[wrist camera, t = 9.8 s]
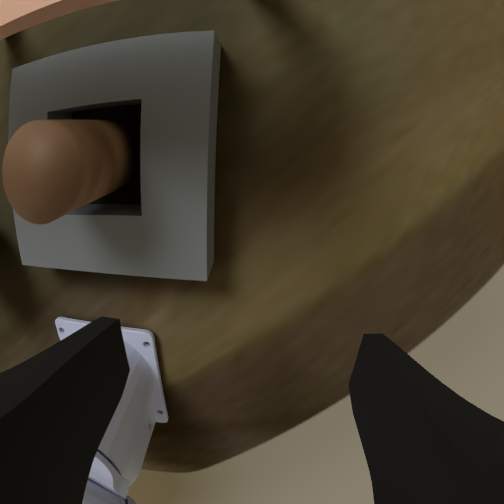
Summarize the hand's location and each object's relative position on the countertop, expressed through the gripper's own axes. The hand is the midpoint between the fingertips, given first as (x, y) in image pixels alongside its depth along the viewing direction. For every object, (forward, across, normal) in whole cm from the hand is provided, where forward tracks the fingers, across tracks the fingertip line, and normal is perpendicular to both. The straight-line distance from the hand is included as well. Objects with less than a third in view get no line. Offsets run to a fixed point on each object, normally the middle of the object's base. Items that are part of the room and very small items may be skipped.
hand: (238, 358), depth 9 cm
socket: (+9, +8, -5) cm, 13 cm away
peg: (+9, +8, -5) cm, 13 cm away
